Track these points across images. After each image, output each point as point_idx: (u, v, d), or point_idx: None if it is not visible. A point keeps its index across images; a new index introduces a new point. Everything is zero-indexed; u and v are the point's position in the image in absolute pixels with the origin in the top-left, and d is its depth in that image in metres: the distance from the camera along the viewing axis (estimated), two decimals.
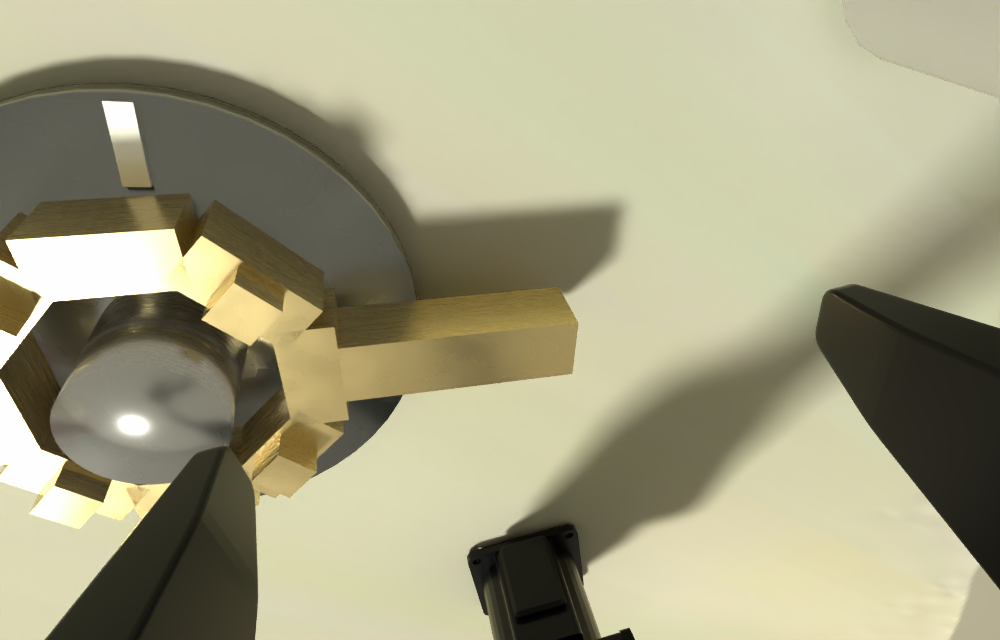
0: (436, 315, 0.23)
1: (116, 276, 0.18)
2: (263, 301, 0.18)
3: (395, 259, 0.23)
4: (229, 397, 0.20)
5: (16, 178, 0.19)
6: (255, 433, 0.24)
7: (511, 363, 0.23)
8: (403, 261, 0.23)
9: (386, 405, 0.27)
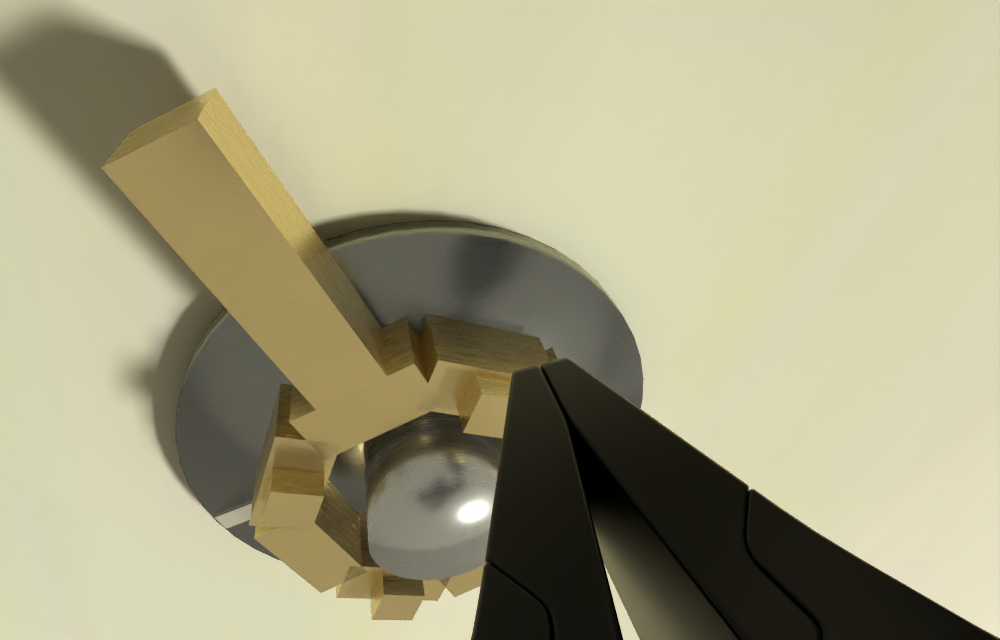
0: None
1: (319, 549, 0.22)
2: (267, 505, 0.19)
3: (235, 321, 0.20)
4: (398, 484, 0.20)
5: None
6: None
7: (233, 226, 0.15)
8: None
9: (448, 246, 0.20)
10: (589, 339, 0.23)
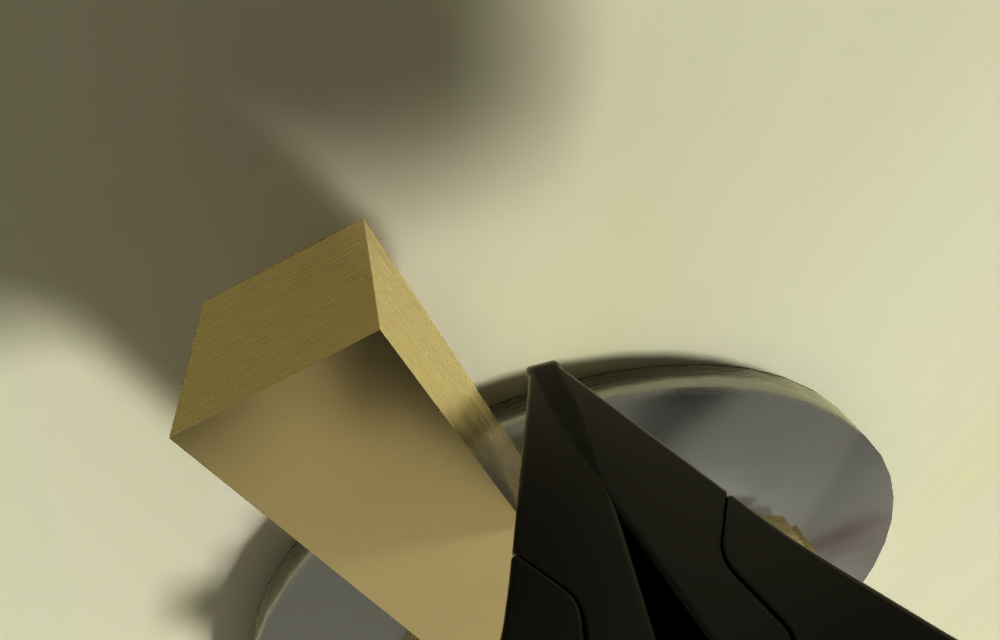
0: None
1: None
2: None
3: None
4: None
5: None
6: None
7: (418, 496, 0.08)
8: None
9: (695, 411, 0.13)
10: (838, 506, 0.16)
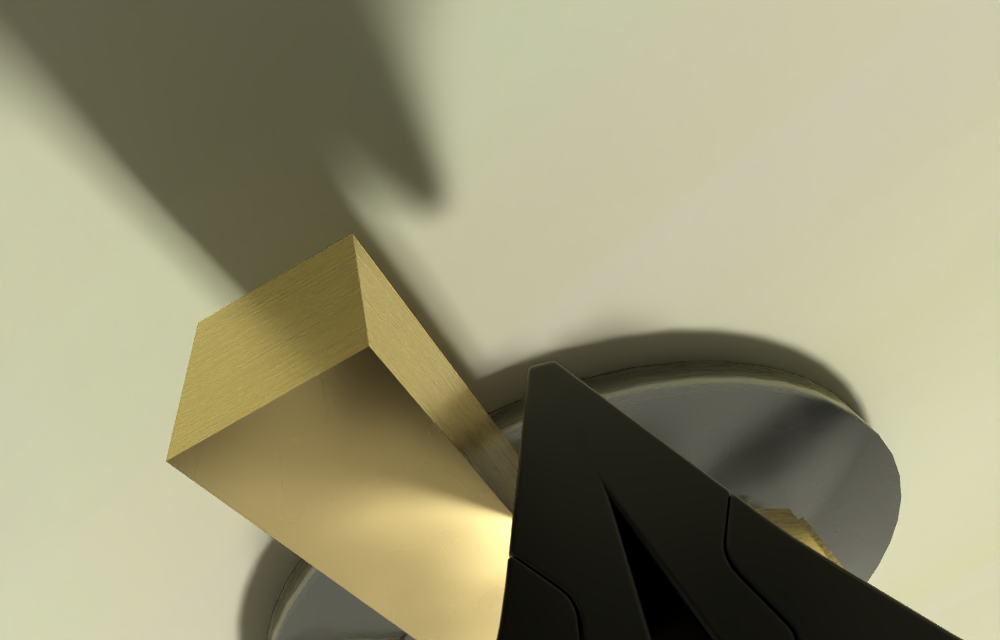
0: None
1: None
2: None
3: (645, 410, 0.12)
4: None
5: None
6: None
7: (417, 508, 0.08)
8: (656, 400, 0.12)
9: (870, 453, 0.15)
10: None
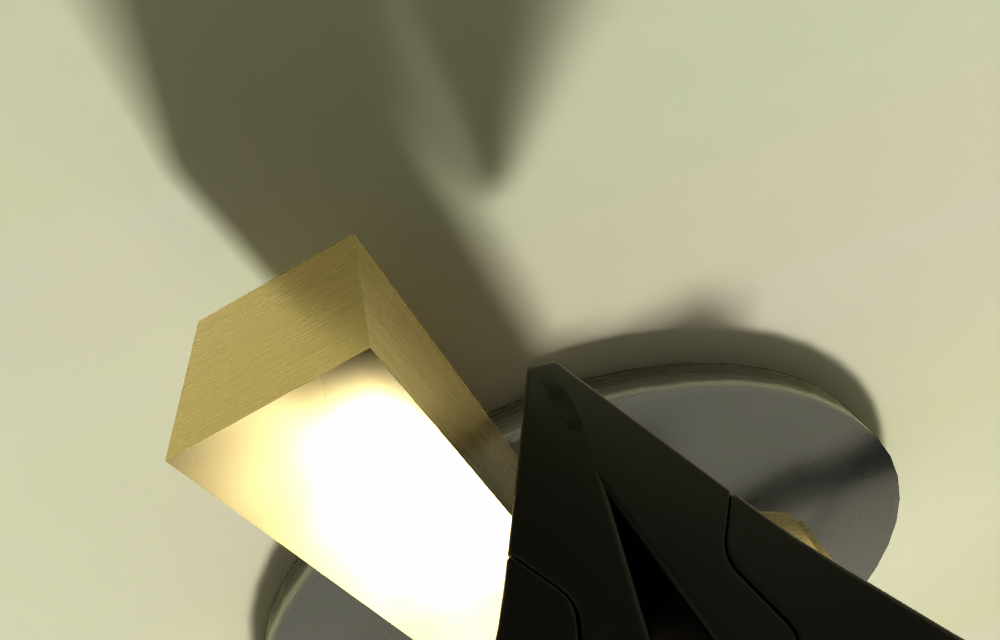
0: None
1: None
2: None
3: (781, 406, 0.13)
4: None
5: None
6: None
7: (416, 509, 0.08)
8: (793, 399, 0.13)
9: (884, 514, 0.17)
10: None
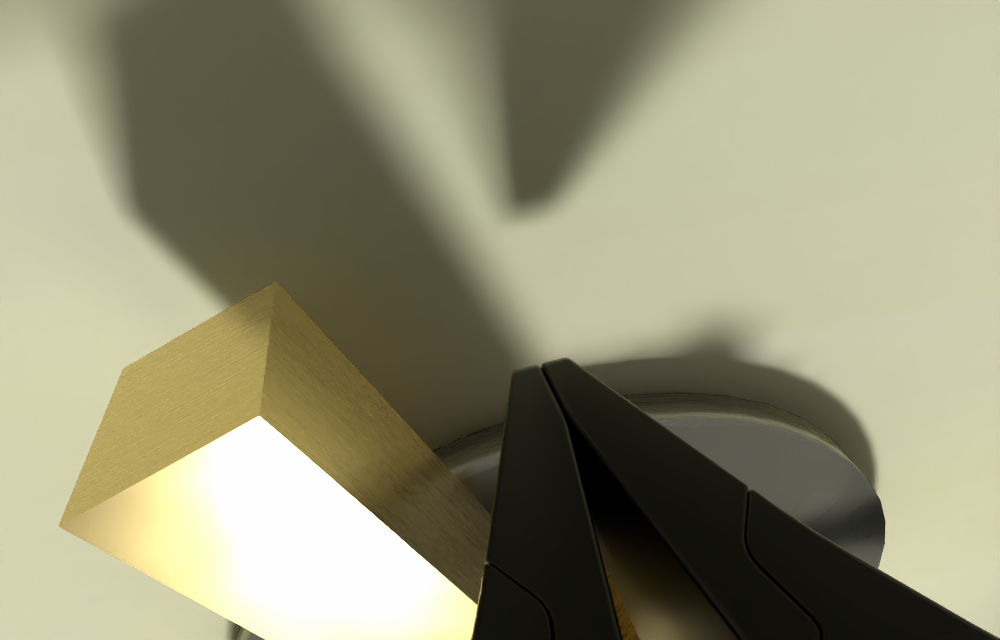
0: None
1: None
2: None
3: (812, 454, 0.14)
4: None
5: None
6: None
7: (332, 565, 0.08)
8: (825, 449, 0.14)
9: None
10: None
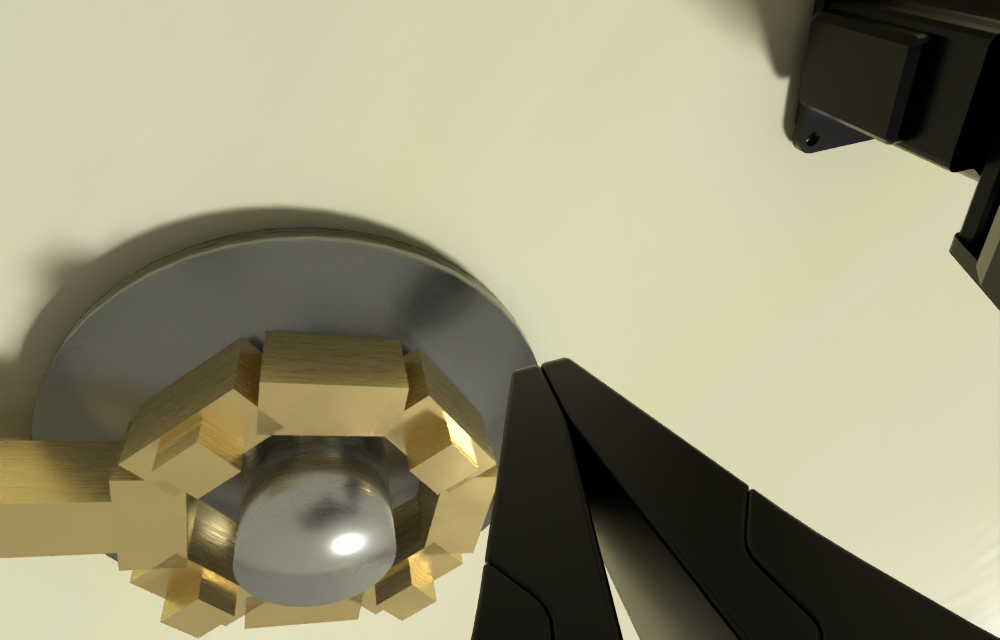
0: None
1: None
2: None
3: (187, 271, 0.18)
4: (296, 494, 0.19)
5: None
6: None
7: None
8: (188, 263, 0.18)
9: (430, 279, 0.20)
10: None
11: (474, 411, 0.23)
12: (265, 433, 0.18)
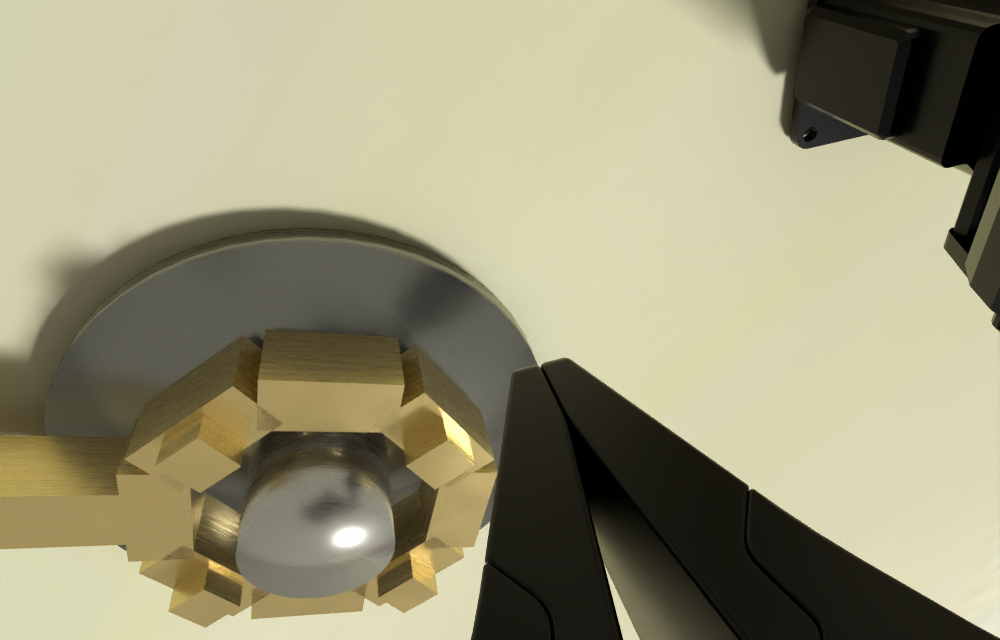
0: None
1: None
2: (184, 617, 0.22)
3: (188, 272, 0.19)
4: (296, 489, 0.19)
5: None
6: None
7: None
8: (190, 264, 0.19)
9: (426, 277, 0.21)
10: None
11: (473, 407, 0.23)
12: (265, 429, 0.19)
